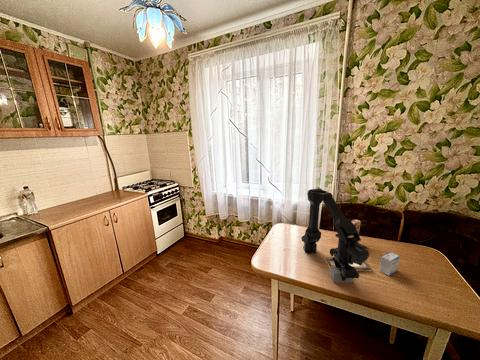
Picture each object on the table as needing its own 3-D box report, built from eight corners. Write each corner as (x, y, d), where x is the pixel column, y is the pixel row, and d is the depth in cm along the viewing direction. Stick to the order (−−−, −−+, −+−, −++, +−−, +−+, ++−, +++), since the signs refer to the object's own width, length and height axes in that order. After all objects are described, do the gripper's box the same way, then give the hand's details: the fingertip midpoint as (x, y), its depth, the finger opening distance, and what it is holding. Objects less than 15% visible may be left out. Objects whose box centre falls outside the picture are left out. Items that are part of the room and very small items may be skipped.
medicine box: (388, 276, 97) (391, 261, 95) (379, 271, 101) (381, 256, 99) (397, 270, 100) (400, 256, 98) (387, 265, 104) (390, 251, 102)
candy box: (350, 247, 121) (353, 225, 118) (344, 244, 125) (346, 222, 121) (358, 243, 126) (360, 221, 122) (351, 240, 130) (353, 218, 126)
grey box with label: (333, 282, 95) (334, 272, 93) (330, 276, 98) (330, 267, 97) (352, 282, 94) (353, 273, 92) (348, 276, 98) (349, 267, 96)
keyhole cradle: (331, 270, 103) (331, 267, 102) (325, 259, 111) (325, 256, 111) (371, 271, 101) (371, 268, 100) (362, 260, 110) (362, 257, 109)
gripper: (374, 261, 82) (369, 293, 86) (352, 238, 100) (349, 265, 104) (346, 261, 83) (343, 292, 87) (330, 238, 101) (328, 264, 105)
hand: (341, 277), depth 96 cm, fingers closed on grey box with label, 4 cm apart
